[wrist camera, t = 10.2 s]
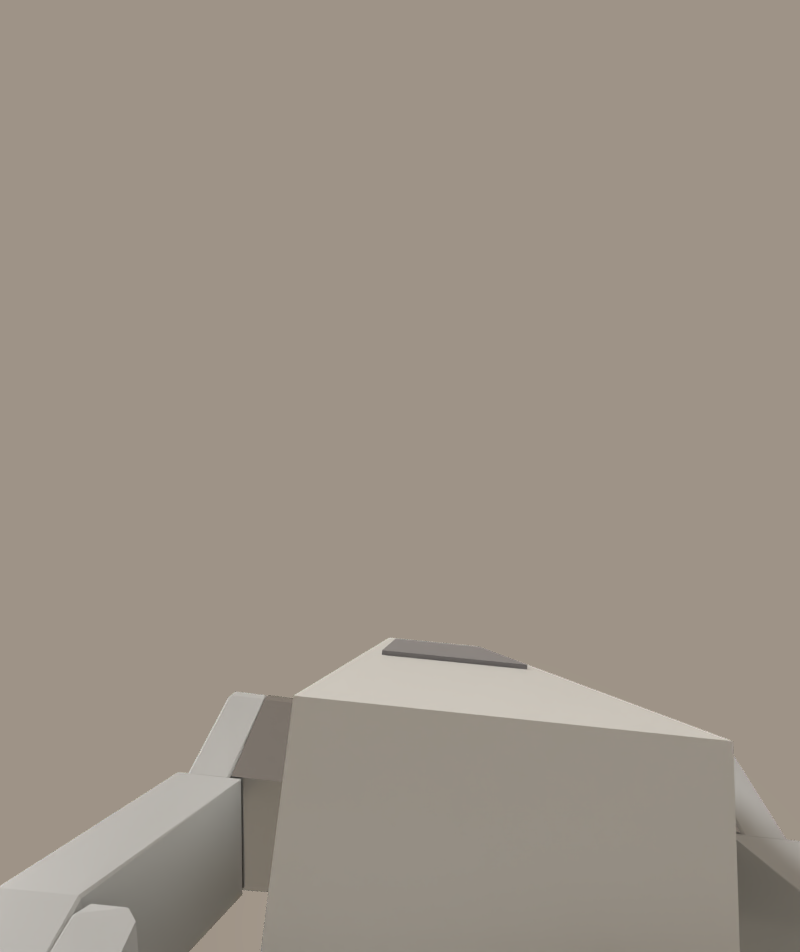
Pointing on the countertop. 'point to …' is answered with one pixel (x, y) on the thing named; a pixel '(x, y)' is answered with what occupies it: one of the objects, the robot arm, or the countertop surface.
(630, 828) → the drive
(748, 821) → the robot arm
